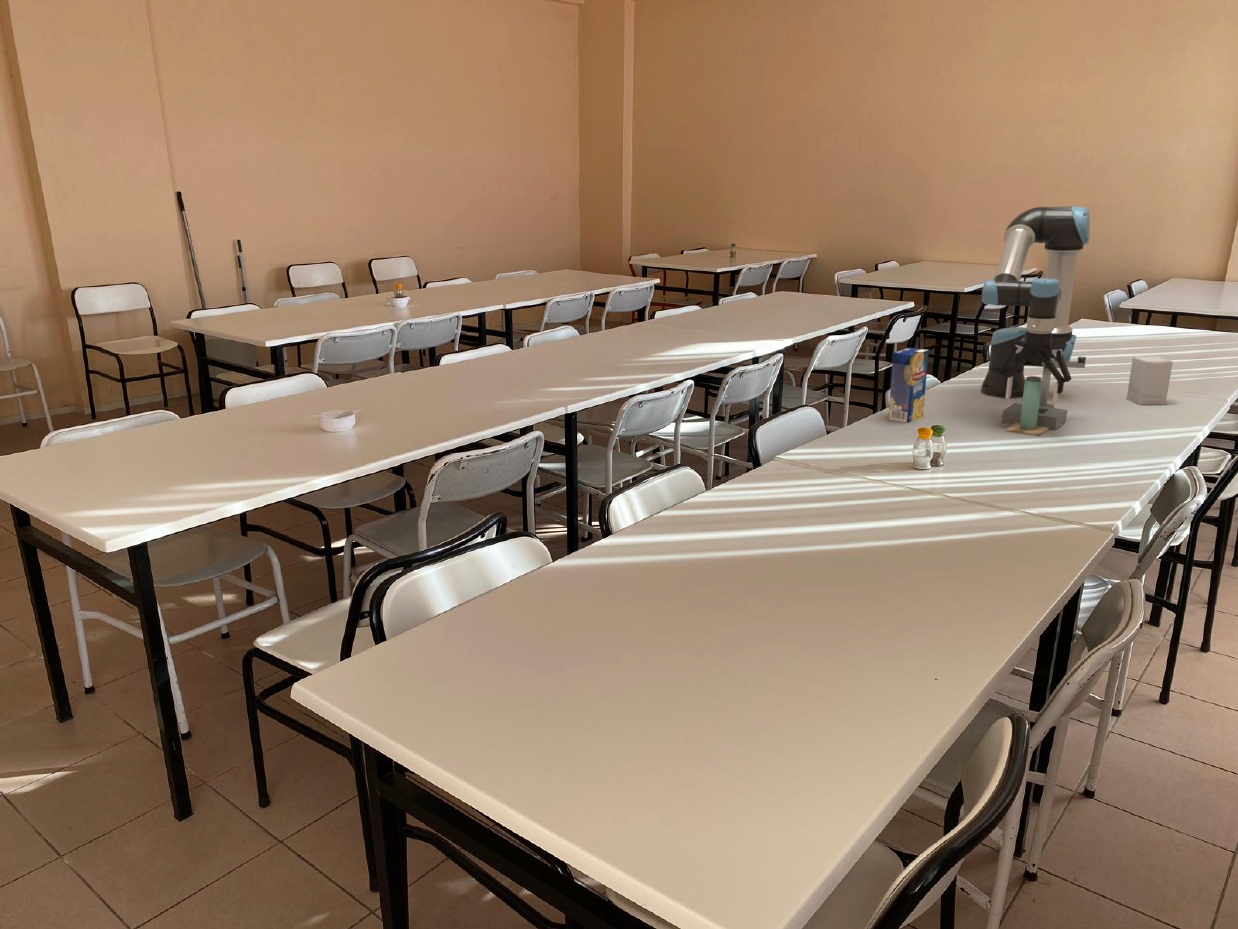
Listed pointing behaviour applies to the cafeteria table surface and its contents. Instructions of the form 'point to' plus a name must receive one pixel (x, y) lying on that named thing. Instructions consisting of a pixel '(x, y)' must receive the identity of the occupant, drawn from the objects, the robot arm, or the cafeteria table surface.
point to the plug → (1030, 403)
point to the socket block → (1046, 413)
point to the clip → (1070, 363)
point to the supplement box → (1149, 380)
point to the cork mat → (1037, 431)
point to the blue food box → (908, 384)
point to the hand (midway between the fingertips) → (1031, 400)
